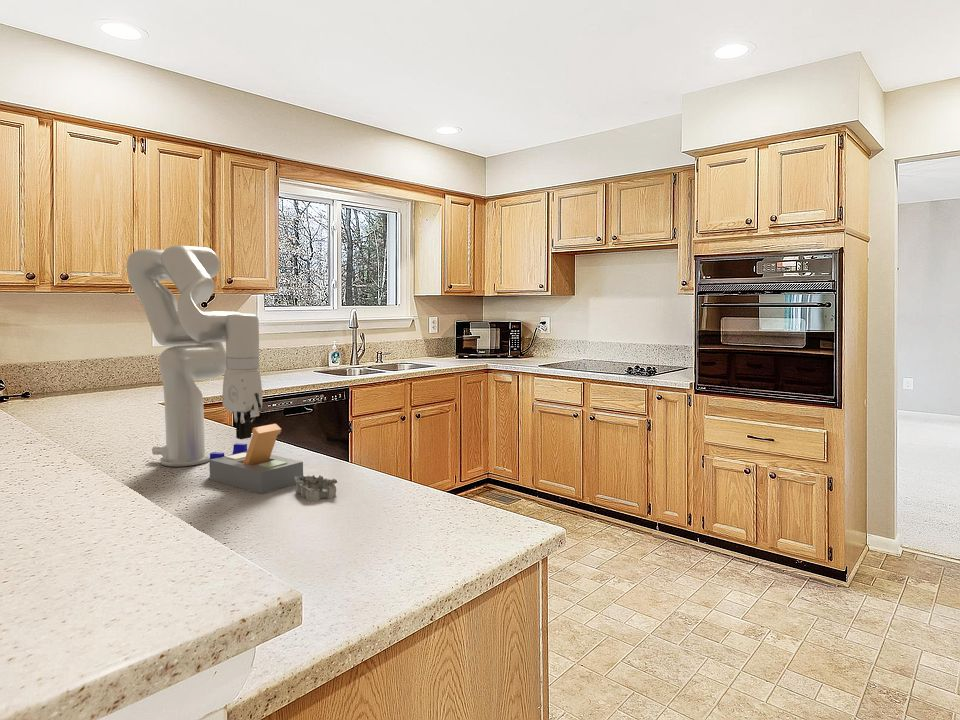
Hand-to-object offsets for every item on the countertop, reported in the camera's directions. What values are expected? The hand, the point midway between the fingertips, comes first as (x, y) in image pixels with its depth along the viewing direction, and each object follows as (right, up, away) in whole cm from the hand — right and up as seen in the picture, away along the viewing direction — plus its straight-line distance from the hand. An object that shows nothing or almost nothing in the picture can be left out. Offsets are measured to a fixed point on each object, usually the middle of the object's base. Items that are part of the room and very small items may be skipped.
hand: (243, 437), depth 156 cm
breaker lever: (+3, -8, -1) cm, 8 cm away
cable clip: (-7, -10, +8) cm, 15 cm away
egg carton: (+21, -12, -11) cm, 26 cm away
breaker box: (+4, -10, -2) cm, 11 cm away
